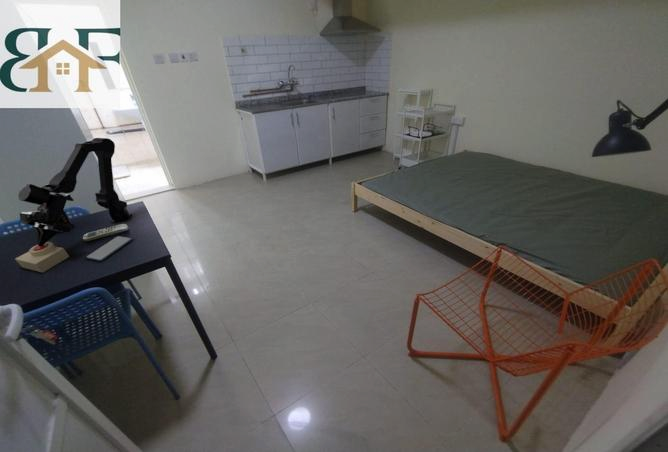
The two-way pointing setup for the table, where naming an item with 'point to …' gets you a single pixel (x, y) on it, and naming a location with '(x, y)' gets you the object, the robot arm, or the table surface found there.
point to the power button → (40, 247)
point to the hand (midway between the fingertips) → (39, 245)
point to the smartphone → (109, 248)
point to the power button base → (42, 258)
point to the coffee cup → (62, 220)
